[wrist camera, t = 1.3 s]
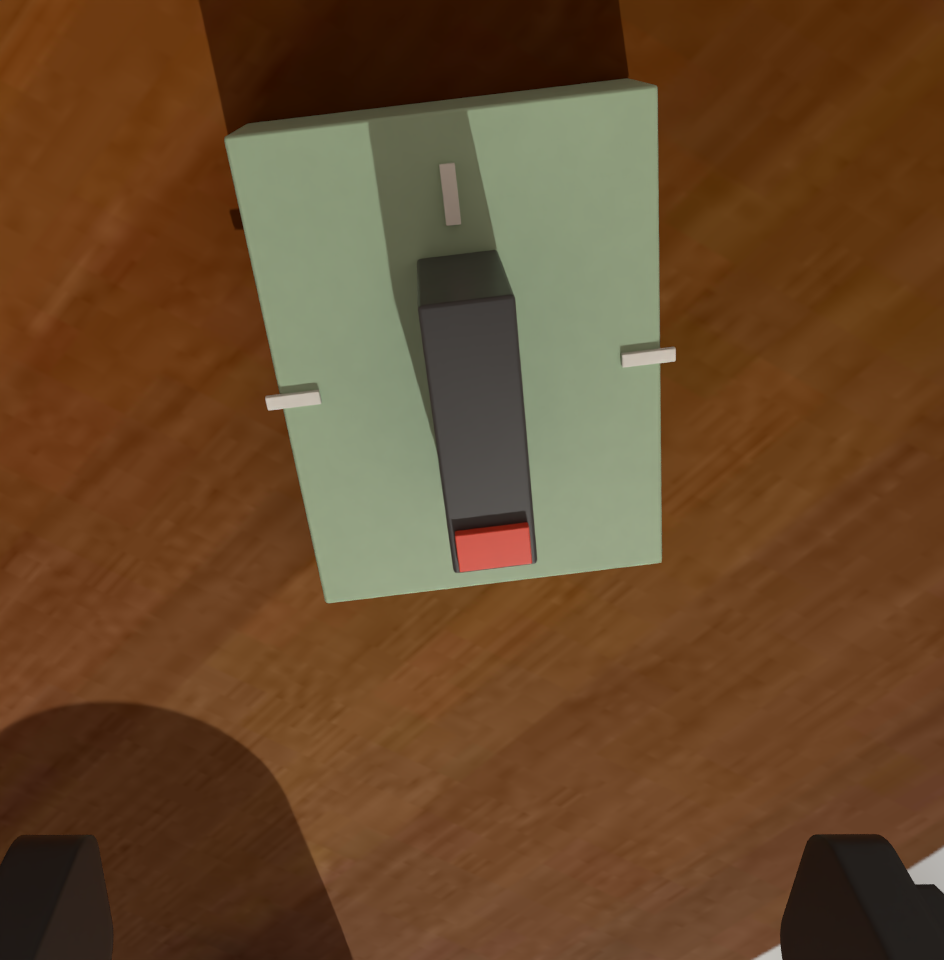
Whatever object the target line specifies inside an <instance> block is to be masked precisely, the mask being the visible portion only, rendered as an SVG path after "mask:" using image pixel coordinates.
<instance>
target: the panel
mask: <svg viewBox="0 0 944 960" xmlns="http://www.w3.org/2000/svg"><path fill="white" fill-rule="evenodd" d="M224 141H225V146H226V150H227V155H228V159H229V164H230V169H231V173H232V178H233V182H234V187H235V191H236V196H237V200H238V205H239V210H240V214H241V219H242V223H243V228H244V232H245V237H246V242H247V246H248V251H249V255H250V260H251V264H252V269H253V274H254V278H255V283H256V287H257V292H258V296H259V301H260V305H261V310H262V315H263V319H264V324H265V328H266V333H267V337H268V342H269V347H270V351H271V356H272V360H273V365H274V369H275V374H276V378H277V383H278V388H279V392H280V394H278V395H270V396H266V397H265V400H266V404H267V409H268V410H276V409H283V410H284V415H285V420H286V424H287V429H288V433H289V438H290V442H291V447H292V451H293V456H294V461H295V465H296V470H297V474H298V479H299V483H300V488H301V493H302V497H303V502H304V506H305V511H306V515H307V520H308V524H309V529H310V534H311V538H312V543H313V547H314V552H315V556H316V561H317V566H318V570H319V575H320V579H321V584H322V588H323V593H324V597H325V601H326V603H334V602H342V601H351V600H359V599H367V598H375V597H383V596H392V595H400V594H408V593H416V592H424V591H433V590H441V589H449V588H457V587H465V586H474V585H482V584H490V583H498V582H506V581H515V580H523V579H531V578H539V577H547V576H556V575H564V574H572V573H580V572H588V571H597V570H605V569H613V568H621V567H629V566H638V565H646V564H654V563H660V562H661V561H662V512H661V406H660V363H665V362H673V361H676V349H675V347H667V348H660V299H659V192H658V88H657V86H656V85H653V84H649V83H645V82H640V81H636V80H632V79H628V78H626V79H617V80H609V81H601V82H592V83H584V84H575V85H567V86H559V87H550V88H542V89H534V90H525V91H517V92H508V93H500V94H492V95H483V96H475V97H466V98H458V99H450V100H441V101H433V102H425V103H416V104H408V105H399V106H391V107H383V108H374V109H366V110H357V111H349V112H341V113H332V114H324V115H316V116H307V117H299V118H290V119H282V120H274V121H265V122H257V123H249V124H246V125H244V126H243V127H241V128H239V129H238V130H236V131H234V132H233V133H231V134H229V135H227V136H226V137H225V139H224ZM489 250H496V251H497V252H498V254H499V256H500V259H501V262H502V264H503V267H504V270H505V272H506V275H507V277H508V280H509V283H510V285H511V288H512V291H513V293H514V296H515V301H516V313H517V325H518V337H519V349H520V360H521V372H522V384H523V396H524V407H525V419H526V431H527V443H528V454H529V466H530V478H531V490H532V502H533V513H534V525H535V537H536V549H537V562H536V563H535V564H529V565H520V566H512V567H504V568H496V569H488V570H479V571H471V572H463V573H455V572H454V570H453V565H452V557H451V550H450V543H449V535H448V528H447V521H446V514H445V506H444V499H443V492H442V484H441V477H440V470H439V462H438V455H437V448H436V440H435V433H434V426H433V419H432V411H431V404H430V397H429V389H428V382H427V375H426V367H425V360H424V353H423V346H422V338H421V331H420V324H419V316H418V305H417V260H419V259H423V258H431V257H439V256H448V255H456V254H464V253H473V252H481V251H489Z"/></svg>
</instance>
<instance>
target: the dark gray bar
mask: <svg viewBox="0 0 944 960" xmlns="http://www.w3.org/2000/svg"><path fill="white" fill-rule="evenodd" d="M417 305H418V316H419V324H420V331H421V338H422V346H423V353H424V360H425V367H426V375H427V382H428V389H429V397H430V404H431V411H432V419H433V426H434V433H435V440H436V448H437V455H438V462H439V470H440V477H441V484H442V492H443V499H444V506H445V514H446V521H447V528H448V535H449V543H450V550H451V557H452V565H453V570H454V572H455V573H463V572H471V571H479V570H488V569H496V568H504V567H512V566H520V565H529V564H535V563H536V562H537V549H536V537H535V525H534V513H533V502H532V490H531V478H530V466H529V454H528V443H527V431H526V419H525V407H524V396H523V384H522V372H521V360H520V349H519V337H518V325H517V313H516V301H515V296H514V293H513V291H512V288H511V285H510V283H509V280H508V277H507V275H506V272H505V270H504V267H503V264H502V262H501V259H500V256H499V254H498V252H497V251H496V250H489V251H481V252H473V253H464V254H456V255H448V256H439V257H431V258H423V259H419V260H417Z"/></svg>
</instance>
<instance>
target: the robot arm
mask: <svg viewBox="0 0 944 960" xmlns="http://www.w3.org/2000/svg"><path fill="white" fill-rule="evenodd" d="M780 942H781V952H782V959H783V960H944V894H943V893H942V892H941V891H940V890H939V889H938V888H937V887H936V886H935V885H934V884H929V885H927V884H926V885H925V884H924V885H923V884H922V885H915V884H914V882H913V880H912V879H911V877H910V875H909V873H908V872H907V870H906V868H905V866H904V865H903V863H902V861H901V860H900V858H899V856H898V855H897V853H896V851H895V850H894V848H893V847H892V845H891V844H890V843H889V842H888V841H887V840H886V839H885V838H884V837H882V836H880V835H877V834H821V835H813V836H812V837H810V838H809V840H808V841H807V844H806V846H805V849H804V852H803V855H802V859H801V862H800V865H799V868H798V871H797V874H796V877H795V880H794V883H793V887H792V890H791V893H790V896H789V899H788V902H787V905H786V908H785V911H784V915H783V918H782V922H781V931H780ZM112 951H113V923H112V917H111V912H110V906H109V901H108V895H107V890H106V884H105V879H104V873H103V868H102V862H101V857H100V851H99V846H98V842H97V840H96V838H95V837H94V836H93V835H21V836H19V837H18V838H17V839H16V840H15V841H14V842H13V843H12V844H11V846H10V847H9V849H8V851H7V853H6V855H5V857H4V859H3V861H2V863H1V865H0V960H112Z"/></svg>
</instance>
